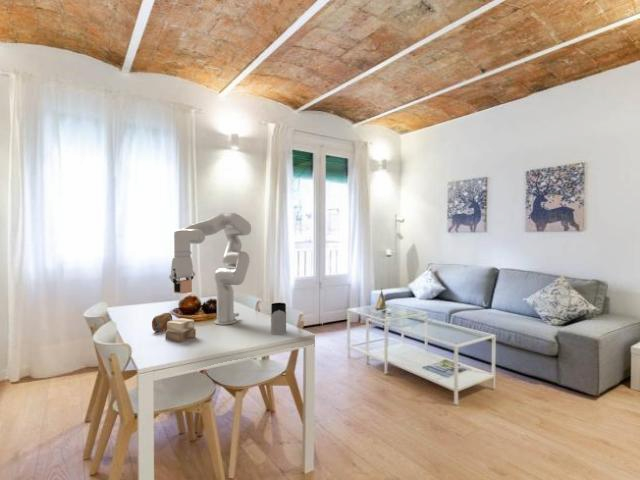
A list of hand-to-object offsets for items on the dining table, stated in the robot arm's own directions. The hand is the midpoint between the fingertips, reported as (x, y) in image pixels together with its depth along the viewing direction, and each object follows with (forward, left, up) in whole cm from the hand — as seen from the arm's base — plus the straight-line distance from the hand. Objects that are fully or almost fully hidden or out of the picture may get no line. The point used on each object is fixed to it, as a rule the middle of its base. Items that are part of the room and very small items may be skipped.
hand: (182, 290), depth 187 cm
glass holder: (-33, +34, -24) cm, 53 cm away
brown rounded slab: (-5, -23, -24) cm, 34 cm away
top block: (0, -1, -20) cm, 20 cm away
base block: (+1, -1, -24) cm, 24 cm away
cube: (0, 0, -1) cm, 1 cm away
